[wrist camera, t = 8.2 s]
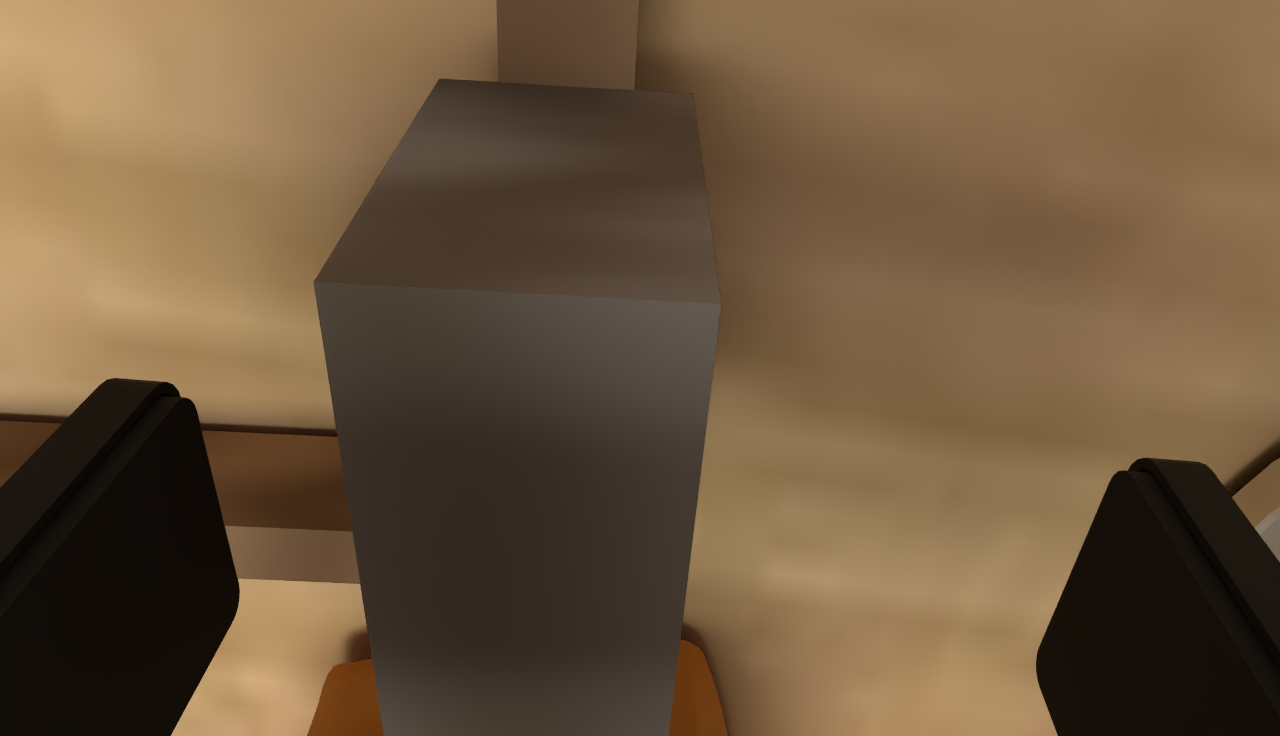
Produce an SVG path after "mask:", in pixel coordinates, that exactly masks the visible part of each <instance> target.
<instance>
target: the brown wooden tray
mask: <svg viewBox="0 0 1280 736" xmlns="http://www.w3.org/2000/svg"><path fill="white" fill-rule="evenodd" d="M638 13H639V0H497V28H498V66H499V82H487V81H470V80H453V79H439V80H438V82H437V83H436V85H435V87H434V88H433V90H432V91H431V93H430V95H429V96H428V98H427V99H426V101H425V103H424V104H423V106H422V108H421V109H420V111H419V112H418V114H417V116H416V117H415V119H414V121H413V122H412V124H411V125H410V127H409V129H408V130H407V132H406V133H405V135H404V137H403V138H402V140H401V142H400V143H399V145H398V146H397V148H396V150H395V151H394V153H393V155H392V156H391V158H390V159H389V161H388V163H387V164H386V166H385V167H384V169H383V171H382V172H381V174H380V176H379V177H378V179H377V180H376V182H375V184H374V185H373V187H372V189H371V190H370V192H369V193H368V195H367V197H366V198H365V200H364V201H363V203H362V205H361V206H360V208H359V210H358V211H357V213H356V214H355V216H354V218H353V219H352V221H351V223H350V224H349V226H348V227H347V229H346V231H345V232H344V234H343V235H342V237H341V239H340V240H339V242H338V244H337V245H336V247H335V248H334V250H333V252H332V253H331V255H330V257H329V258H328V260H327V261H326V263H325V265H324V266H323V268H322V269H321V271H320V273H319V274H318V276H317V278H316V279H315V281H314V287H315V294H316V300H317V307H318V313H319V320H320V326H321V333H322V339H323V346H324V352H325V359H326V365H327V371H328V378H329V384H330V391H331V397H332V404H333V410H334V417H335V423H336V430H337V436H338V437H327V436H306V435H286V434H265V433H245V432H224V431H204V430H202V434H203V438H204V443H205V447H206V451H207V455H208V459H209V463H210V467H211V471H212V475H213V480H214V484H215V488H216V492H217V496H218V500H219V504H220V508H221V512H222V517H223V521H224V525H225V529H226V533H227V537H228V541H229V545H230V549H231V554H232V558H233V562H234V566H235V570H236V574H237V578H241V579H263V580H286V581H308V582H331V583H353V584H360V585H361V591H362V598H363V604H364V611H365V617H366V624H367V630H368V637H369V643H370V650H371V656H372V663H373V669H374V675H375V682H376V688H377V695H378V701H379V708H380V714H381V721H382V727H383V734H384V736H669V728H670V720H671V711H672V703H673V695H674V687H675V679H676V671H677V662H678V654H679V646H680V638H681V630H682V621H683V613H684V605H685V597H686V589H687V581H688V572H689V564H690V556H691V548H692V540H693V531H694V523H695V515H696V507H697V499H698V491H699V482H700V474H701V466H702V458H703V450H704V441H705V433H706V425H707V417H708V409H709V401H710V392H711V384H712V376H713V368H714V360H715V351H716V343H717V335H718V327H719V319H720V311H721V298H720V290H719V283H718V275H717V268H716V260H715V253H714V245H713V238H712V230H711V223H710V216H709V208H708V201H707V193H706V186H705V178H704V171H703V163H702V156H701V148H700V141H699V133H698V126H697V118H696V111H695V104H694V96H693V94H689V93H672V92H655V91H638V90H634V87H635V68H636V50H637V32H638ZM61 425H62V424H60V423H40V422H19V421H0V487H1V486H2V485H3V484H4V483H5V482H6V481H7V480H8V479H9V478H10V477H11V476H12V475H13V474H14V473H15V472H16V471H17V470H18V469H19V468H20V467H21V466H22V465H23V464H24V463H25V462H26V461H27V460H28V458H29V457H30V456H31V455H32V454H33V453H34V452H35V451H36V450H37V449H38V448H39V447H40V446H41V445H42V444H43V443H44V442H45V441H46V440H47V439H48V438H49V437H50V436H51V435H52V434H53V433H54V432H55V431H56V430H57V429H58V428H59V427H60V426H61Z"/></svg>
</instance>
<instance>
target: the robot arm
mask: <svg viewBox="0 0 1280 736" xmlns="http://www.w3.org/2000/svg"><path fill="white" fill-rule="evenodd" d="M239 593H240V589H239V582H238V578H237V574H236V570H235V566H234V562H233V558H232V554H231V549H230V545H229V541H228V537H227V533H226V529H225V525H224V521H223V517H222V512H221V508H220V504H219V500H218V496H217V492H216V488H215V484H214V480H213V475H212V471H211V467H210V463H209V459H208V455H207V451H206V447H205V443H204V438H203V434H202V430H201V426H200V422H199V418H198V414H197V410H196V407H195V405H194V403H193V402H192V401H191V400H190V399H188V398H181V396H180V394H179V391H178V390H177V389H176V387H175V386H174V385H173V384H170V383H168V382H158V381H145V380H132V379H119V378H113V379H108V380H106V381H105V382H103V383H102V384H101V385H99V386H98V387H97V388H96V389H95V391H94V392H93V393H92V394H91V395H90V396H89V397H88V398H87V399H86V400H85V401H84V402H83V403H82V404H81V405H80V406H79V407H78V408H77V409H76V410H75V411H74V412H73V413H72V414H71V415H70V416H69V417H68V418H67V419H66V420H65V421H64V422H63V423H62V425H61V426H60V427H59V428H58V429H57V430H56V431H55V432H54V433H53V434H52V435H51V436H50V437H49V438H48V439H47V440H46V441H45V442H44V443H43V444H42V445H41V446H40V447H39V448H38V449H37V450H36V451H35V452H34V453H33V454H32V455H31V456H30V457H29V458H28V460H27V461H26V462H25V463H24V464H23V465H22V466H21V467H20V468H19V469H18V470H17V471H16V472H15V473H14V474H13V475H12V476H11V477H10V478H9V479H8V480H7V481H6V482H5V483H4V484H3V485H2V486H1V487H0V736H171V734H172V732H173V730H174V728H175V727H176V725H177V723H178V721H179V719H180V717H181V716H182V714H183V712H184V710H185V708H186V706H187V705H188V703H189V701H190V699H191V697H192V695H193V694H194V692H195V690H196V688H197V686H198V684H199V683H200V681H201V679H202V677H203V675H204V673H205V672H206V670H207V668H208V666H209V664H210V662H211V661H212V659H213V657H214V655H215V653H216V651H217V650H218V648H219V646H220V644H221V642H222V640H223V639H224V637H225V635H226V633H227V631H228V629H229V628H230V626H231V624H232V622H233V620H234V617H235V615H236V612H237V608H238V603H239ZM1036 671H1037V679H1038V683H1039V686H1040V689H1041V692H1042V694H1043V697H1044V700H1045V702H1046V705H1047V708H1048V710H1049V713H1050V716H1051V718H1052V721H1053V724H1054V726H1055V729H1056V732H1057V734H1058V736H1280V457H1279V458H1278V459H1276V460H1275V461H1273V462H1272V463H1271V464H1270V465H1269V466H1267V467H1266V468H1265V469H1264V470H1263V471H1262V472H1260V473H1259V474H1258V475H1257V476H1256V477H1254V478H1253V479H1252V480H1251V481H1250V482H1249V483H1247V484H1246V485H1245V486H1244V487H1243V488H1242V489H1240V490H1239V491H1238V492H1237V493H1236V494H1235V495H1233V496H1232V497H1231V495H1230V494H1229V493H1228V491H1227V490H1226V489H1225V487H1224V486H1223V484H1222V483H1221V482H1220V480H1219V479H1218V478H1217V476H1216V475H1215V474H1214V472H1213V471H1212V470H1211V469H1210V468H1209V467H1208V466H1207V465H1206V464H1203V463H1200V462H1193V461H1180V460H1167V459H1154V458H1141V459H1138V460H1136V461H1135V462H1134V463H1133V464H1132V465H1131V466H1130V468H1129V470H1128V471H1118V472H1117V473H1116V474H1115V475H1113V477H1112V479H1111V481H1110V482H1109V485H1108V487H1107V489H1106V492H1105V494H1104V496H1103V499H1102V501H1101V503H1100V506H1099V508H1098V511H1097V513H1096V515H1095V518H1094V520H1093V522H1092V525H1091V527H1090V529H1089V532H1088V534H1087V536H1086V539H1085V541H1084V543H1083V546H1082V548H1081V550H1080V553H1079V555H1078V557H1077V560H1076V562H1075V564H1074V567H1073V569H1072V571H1071V574H1070V576H1069V579H1068V581H1067V583H1066V586H1065V588H1064V590H1063V593H1062V595H1061V597H1060V600H1059V602H1058V604H1057V607H1056V609H1055V611H1054V614H1053V616H1052V618H1051V621H1050V623H1049V625H1048V628H1047V630H1046V632H1045V635H1044V637H1043V639H1042V642H1041V644H1040V647H1039V650H1038V653H1037V660H1036Z"/></svg>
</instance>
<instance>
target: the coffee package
mask: <svg viewBox="0 0 1280 736" xmlns="http://www.w3.org/2000/svg"><path fill="white" fill-rule="evenodd" d="M307 736H384V734H383V727H382V721H381V714H380V708H379V701H378V695H377V688H376V682H375V675H374V669H373V663H372V658H371V659H367V660H362V661H358V662H351V663H344V664H339V665H336V666H334V667H333V668H332V669H331V671H330V672H329V674H328V676H327V678H326V681H325V683H324V686H323V689H322V692H321V696H320V700H319V703H318V707H317V710H316V712H315V715H314V718H313V721H312V724H311V727H310V729H309V732H308V735H307ZM669 736H728V734H727V729H726V725H725V720H724V716H723V711H722V707H721V704H720V700H719V696H718V693H717V690H716V687H715V684H714V680H713V677H712V675H711V672H710V669H709V667H708V664H707V661H706V658H705V656H704V654H703V652H702V650H700V649H699V648H698V647H697V646H695V645H693V644H692V643H690V642H688V641H685V640H683V639H680V646H679V654H678V662H677V671H676V679H675V687H674V695H673V703H672V711H671V720H670V728H669Z"/></svg>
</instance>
